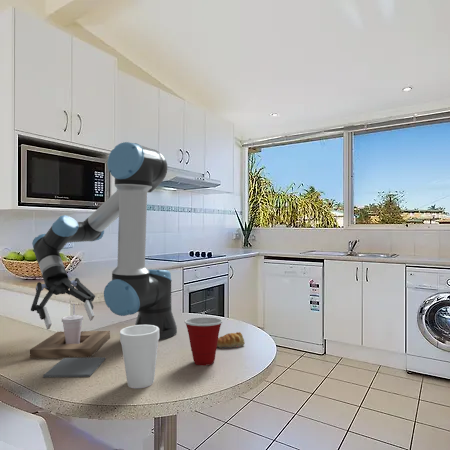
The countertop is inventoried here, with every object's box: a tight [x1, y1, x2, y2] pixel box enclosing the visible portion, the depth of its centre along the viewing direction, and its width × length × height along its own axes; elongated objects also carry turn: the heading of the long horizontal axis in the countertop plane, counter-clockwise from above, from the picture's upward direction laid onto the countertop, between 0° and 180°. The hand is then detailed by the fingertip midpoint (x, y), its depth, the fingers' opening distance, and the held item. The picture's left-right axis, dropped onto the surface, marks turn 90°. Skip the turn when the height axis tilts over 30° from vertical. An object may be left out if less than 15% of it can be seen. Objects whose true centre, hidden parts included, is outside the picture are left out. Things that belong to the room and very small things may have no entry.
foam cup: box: [119, 324, 160, 389], centre depth 89 cm, size 10×9×13 cm
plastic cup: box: [184, 316, 223, 367], centre depth 102 cm, size 11×11×12 cm
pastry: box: [217, 331, 246, 349], centre depth 116 cm, size 9×7×4 cm
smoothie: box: [61, 303, 84, 344], centre depth 116 cm, size 6×6×14 cm
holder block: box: [29, 330, 111, 359], centre depth 116 cm, size 18×18×2 cm
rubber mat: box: [42, 356, 106, 378], centre depth 99 cm, size 12×12×1 cm
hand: (71, 322), depth 116 cm, fingers open, 13 cm apart
